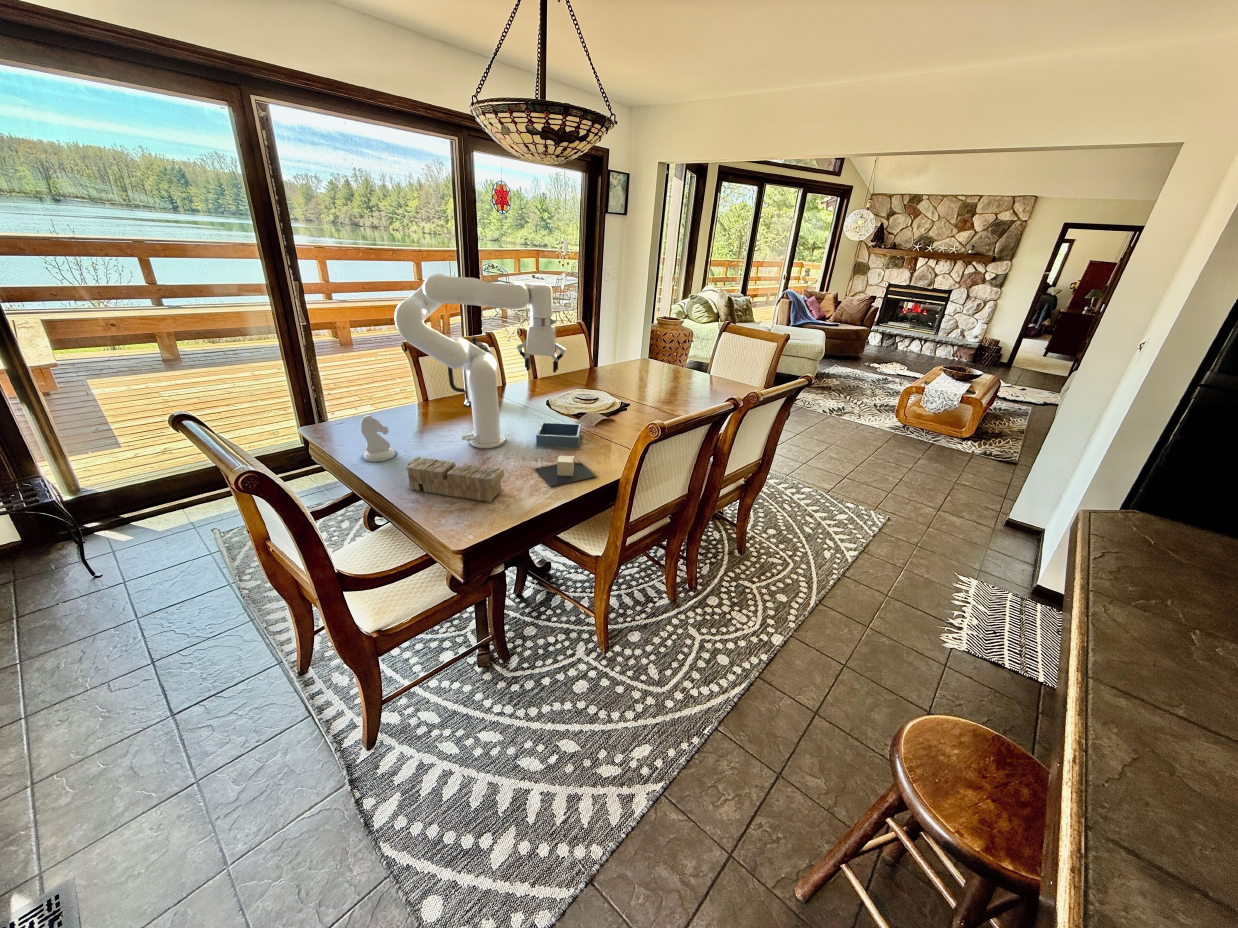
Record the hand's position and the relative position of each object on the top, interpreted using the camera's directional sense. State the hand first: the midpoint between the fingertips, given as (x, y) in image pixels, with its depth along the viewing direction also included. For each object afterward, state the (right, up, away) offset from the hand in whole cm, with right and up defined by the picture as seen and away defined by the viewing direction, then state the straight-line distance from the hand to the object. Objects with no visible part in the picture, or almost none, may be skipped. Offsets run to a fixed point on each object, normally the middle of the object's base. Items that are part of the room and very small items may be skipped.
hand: (541, 370), depth 173 cm
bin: (+5, -25, +12) cm, 28 cm away
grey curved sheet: (+18, -16, +34) cm, 41 cm away
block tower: (-22, -42, -26) cm, 54 cm away
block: (+10, -37, -13) cm, 40 cm away
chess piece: (-55, -31, -7) cm, 64 cm away
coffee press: (-38, -6, +48) cm, 62 cm away
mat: (+10, -37, -12) cm, 40 cm away
